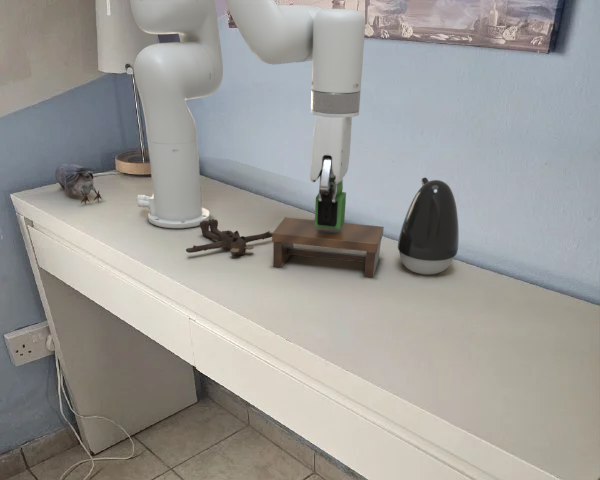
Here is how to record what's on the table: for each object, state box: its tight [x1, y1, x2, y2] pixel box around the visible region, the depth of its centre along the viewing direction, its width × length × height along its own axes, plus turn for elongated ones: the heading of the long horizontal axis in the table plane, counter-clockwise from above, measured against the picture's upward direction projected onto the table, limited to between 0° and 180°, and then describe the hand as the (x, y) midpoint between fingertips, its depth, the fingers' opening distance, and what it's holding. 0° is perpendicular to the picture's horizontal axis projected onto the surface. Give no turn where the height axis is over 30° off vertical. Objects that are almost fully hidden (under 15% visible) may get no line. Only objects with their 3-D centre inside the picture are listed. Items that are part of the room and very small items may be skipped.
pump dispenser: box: [397, 177, 460, 276], centre depth 104 cm, size 10×10×15 cm
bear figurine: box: [185, 218, 273, 256], centre depth 114 cm, size 18×4×14 cm
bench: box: [271, 216, 384, 279], centre depth 108 cm, size 18×9×6 cm, turn 77°
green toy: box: [314, 175, 347, 229], centre depth 103 cm, size 4×4×8 cm
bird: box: [55, 163, 103, 205], centre depth 137 cm, size 5×16×7 cm, turn 43°
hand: (329, 219), depth 105 cm, fingers closed on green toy, 4 cm apart
